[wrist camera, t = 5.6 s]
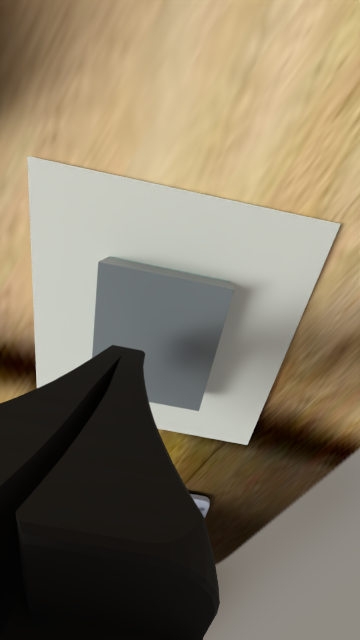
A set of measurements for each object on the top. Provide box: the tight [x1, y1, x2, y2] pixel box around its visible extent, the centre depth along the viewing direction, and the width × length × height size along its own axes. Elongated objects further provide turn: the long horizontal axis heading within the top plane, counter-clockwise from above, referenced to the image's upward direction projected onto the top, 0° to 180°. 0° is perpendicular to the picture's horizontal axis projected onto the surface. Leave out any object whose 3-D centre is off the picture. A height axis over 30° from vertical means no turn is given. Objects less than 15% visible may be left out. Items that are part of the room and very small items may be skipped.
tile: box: [92, 256, 234, 411], centre depth 13 cm, size 2×7×6 cm
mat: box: [27, 156, 341, 445], centre depth 14 cm, size 14×14×1 cm
